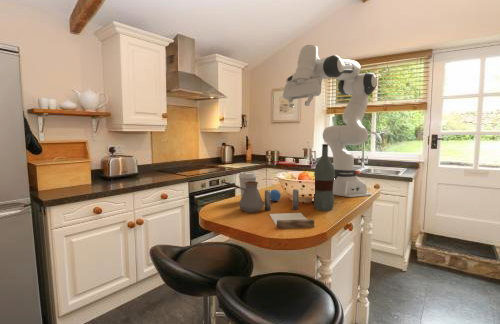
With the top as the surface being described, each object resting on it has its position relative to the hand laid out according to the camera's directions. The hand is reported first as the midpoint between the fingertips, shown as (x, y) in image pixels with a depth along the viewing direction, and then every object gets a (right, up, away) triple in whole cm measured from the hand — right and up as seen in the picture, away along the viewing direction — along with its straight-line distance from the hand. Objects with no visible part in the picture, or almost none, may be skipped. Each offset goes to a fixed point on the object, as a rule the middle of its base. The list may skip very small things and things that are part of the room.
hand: (298, 106), depth 132 cm
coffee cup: (-24, -47, +13) cm, 54 cm away
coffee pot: (-26, -49, -5) cm, 55 cm away
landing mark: (-7, -49, -15) cm, 52 cm away
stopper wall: (-6, -50, -25) cm, 56 cm away
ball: (-10, -43, +14) cm, 46 cm away
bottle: (+12, -48, 0) cm, 49 cm away
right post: (-2, -48, 0) cm, 48 cm away
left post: (-15, -48, -2) cm, 50 cm away
